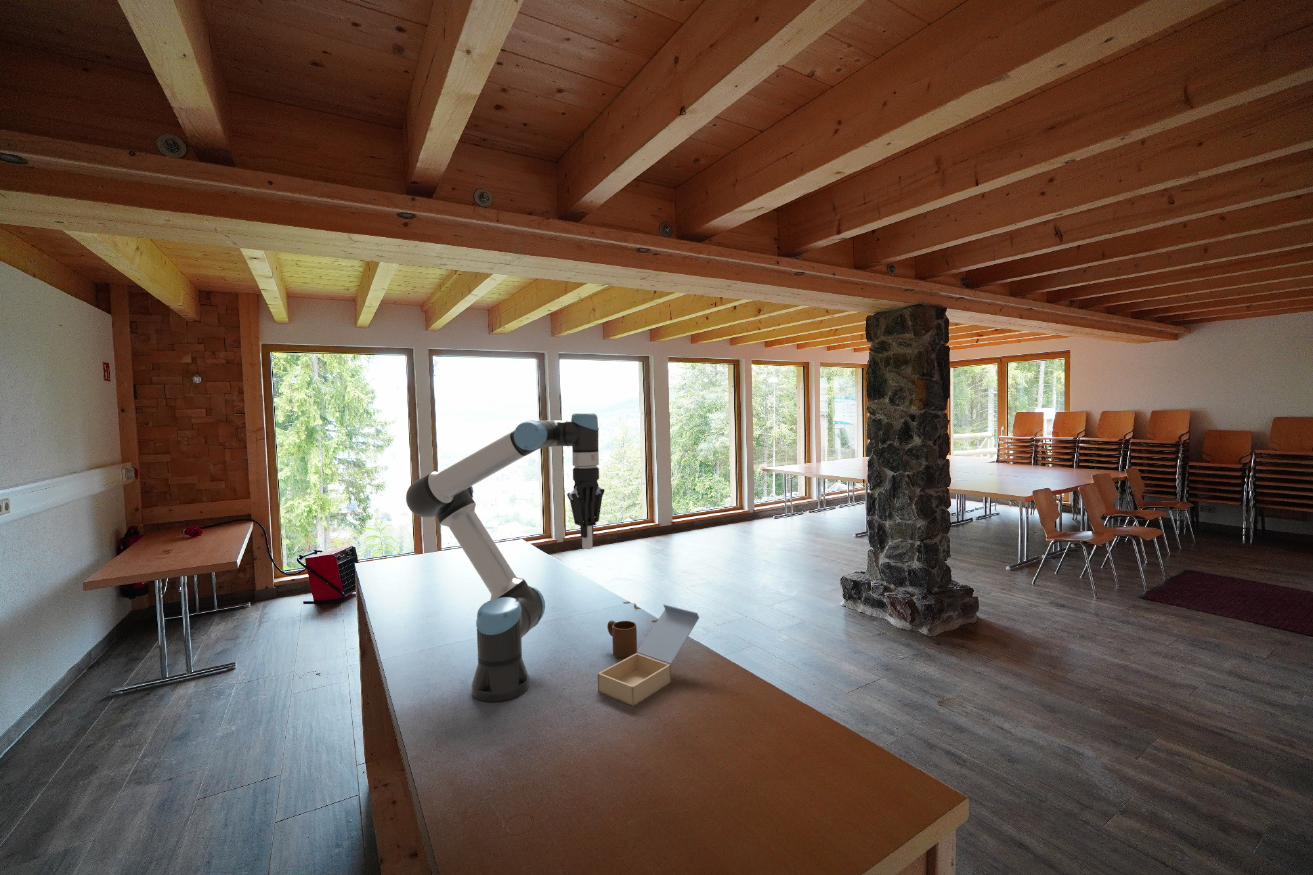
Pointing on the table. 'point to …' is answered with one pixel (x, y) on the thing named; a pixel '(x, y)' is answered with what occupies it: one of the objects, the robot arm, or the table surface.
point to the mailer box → (634, 679)
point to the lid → (669, 634)
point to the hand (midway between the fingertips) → (587, 547)
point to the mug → (623, 638)
